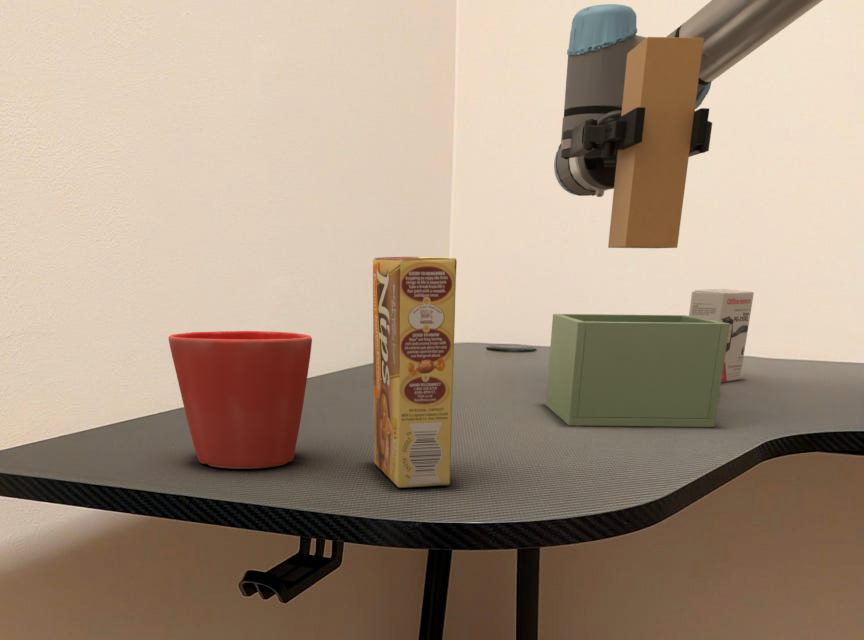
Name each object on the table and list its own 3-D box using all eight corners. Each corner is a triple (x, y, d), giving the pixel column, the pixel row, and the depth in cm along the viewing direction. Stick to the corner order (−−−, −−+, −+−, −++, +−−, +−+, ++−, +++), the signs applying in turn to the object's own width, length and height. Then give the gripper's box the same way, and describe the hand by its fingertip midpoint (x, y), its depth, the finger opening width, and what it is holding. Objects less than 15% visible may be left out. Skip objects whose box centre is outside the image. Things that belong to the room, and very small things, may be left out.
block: (656, 248, 93) (679, 53, 86) (677, 247, 86) (704, 37, 80) (607, 247, 93) (627, 53, 86) (625, 247, 86) (647, 36, 80)
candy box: (452, 487, 65) (462, 257, 59) (395, 490, 65) (399, 256, 59) (420, 462, 73) (426, 256, 67) (369, 464, 72) (370, 256, 66)
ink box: (712, 384, 122) (726, 290, 118) (678, 381, 125) (690, 289, 121) (741, 379, 128) (755, 289, 123) (708, 376, 131) (721, 288, 126)
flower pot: (234, 442, 80) (228, 327, 76) (338, 456, 75) (337, 333, 71) (149, 463, 72) (137, 334, 68) (260, 480, 67) (254, 342, 63)
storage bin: (673, 406, 103) (685, 315, 99) (714, 427, 91) (730, 323, 87) (545, 405, 103) (552, 313, 99) (568, 425, 90) (578, 321, 87)
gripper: (684, 190, 104) (764, 173, 82) (527, 188, 104) (566, 170, 82) (693, 115, 101) (779, 77, 80) (532, 113, 101) (574, 74, 79)
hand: (671, 125), depth 81 cm, fingers closed on block, 5 cm apart
